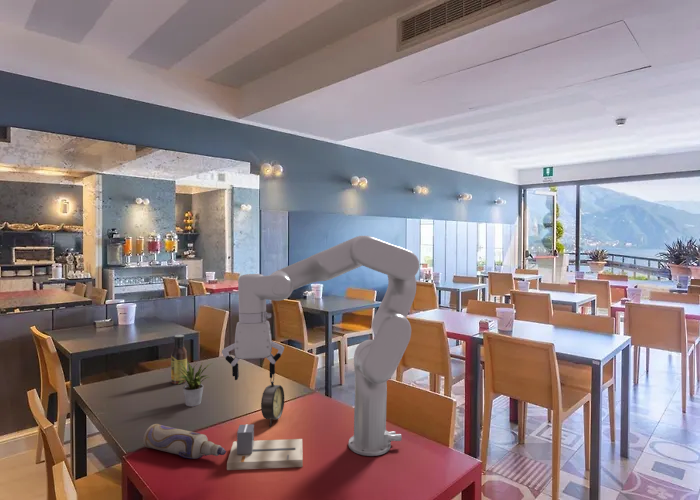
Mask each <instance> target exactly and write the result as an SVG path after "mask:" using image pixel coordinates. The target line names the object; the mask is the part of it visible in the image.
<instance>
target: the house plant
mask: <svg viewBox="0 0 700 500" xmlns="http://www.w3.org/2000/svg"><path fill="white" fill-rule="evenodd" d="M178 363H179V362H178ZM180 364H181V363H180ZM197 364H198V363H197ZM197 364H196V363H194V366H193V367H192V364H190V362H189V361H188V360H187V370H186V369H185V367H184V365H183V364H181V365H182V366H183V368H184V370H185V371H186V372H185V371H184V370H182V369H181V370H182V371H184V373H185V374H186V373H187V374H186V375H187V376H186V375H184V374H183V373H182V372H181V371H180V372H181V373H182V374H183V375H182V376H181V377H182V379H185V380H186V383H187V384H185V382H184V381H185V380H182V381H180V382H179V384H177V385H178V386H179V385H180V383H181V384H185V386H183V387H182V390H183V396H184V402H185V406H187V407H196V406H199V405H201V402H202V398H203V397H202V396H203V392H204V391H203V390H204V385H203V384H202V382H203V381H205V379H209V378H210V377H209V376H208V375H205V374H204V375H202V373H203V372H204V371H205V370H207V368H208V367H209V366H210V365H212V364H213V362H211V363H209V364H207V365H206V366H205V367H203V368H202V365H203V363H201V364H200V366H199V368H198V370H197V371H196V372H195V367H196V365H197ZM179 369H180V368H179ZM202 378H203V379H202ZM175 380H178V379H175ZM182 382H183V383H182Z"/></svg>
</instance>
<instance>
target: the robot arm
mask: <svg viewBox="0 0 700 500" xmlns="http://www.w3.org/2000/svg"><path fill="white" fill-rule="evenodd" d="M360 267H366V268H367V269H370V270H372V271H376V272H378V273H381V274H383V275H387V281H388V284H387V288H386V292H385V293H384V295H383V296H384V297H383V298H382V301H381V302H380V304H379V307H378V309H377V310H376V313H375V314H374V316H373V318H372V322H371V329H372V332H373V333H374V335H375V336H374V338H373V339H366V340H365V339H364V340H363V341H362V342H360V343H359V344H358V345H357V346H356V348H355V350H354V356H353V368H354V371H353V372H354V403H353V404H354V406H353V407H354V410H353V411H354V414H353V420H354V421H353V435H352V436H350V438H349V440H348V443H347V445H348V448H349V449H350V450H351V451H352V452H354V453H356V454H357V455H361V456H366V457H374V456H381V455H384V454H386V453H388V452H389V451H390V449H391V446H392V445H391V444H392V442H394V441H395V442H402V434H401V433H396V431H394V430H393V431H388V430H387V397H388V396H387V395H388V391H387V390H388V389H387V388H388V386H387V385H388V384H387V383H388V382H387V381H389V380H390V379H391V378H392V377H393V375H394V373H395V372H396V370H397V368H398V367H399V365H400V362H401V361H402V358H403V356H404V354H405V352H406V349H407V348H408V345H409V343H410V341H411V337H412V326H411V323H410V321H409V320H408V318H407V317H408V315H409V312H410V310H411V307H412V305H413V303H414V300H415V299H416V298H415V297H416V294H417V280H416V275H417V274H418V271H419V269H420V260H419V259H418V257H417V255H416V254H415V253H414V252H413V251H411V250H408V249H406V248H403V247H401V246H397V245H396V244H395V245H394V244H391V243H389V242H386V241H384V240H381V239H378V238H377V237H373V236H370V235H358V236H355V237H352V238H350V239H348V240H346V241H343V242H341V243H339V244H336V245H334V246H331V247H329V248H327V249H324V250H321V251H320V252H317V253H315V254H312V255H310V256H309V257H307V258H304V259H302V260H299V261H297V262H294V263H292V264H290V265H287V266H285V267H283V268H281V269H277V270H276V271H274V272H272V273H271V274H269V275H263V274H262V273H247V274H246V273H245V274H242V275H239V277H238V280H237V283H238V285H237V287H238V289H237V290H238V291H237V293H238V295H237V297H238V322H236V327H235V334H234V343H232V344H230V345H228V346H226V347H224V348H222V349H221V354H222V355H223V358H225V361H227V363H229V364H230V366H231V367H232V369H231V370H232V371H231V372H232V373H231V374H232V377H234V381H237V380H238V379H239V375H240V374H239V363H238V362H239V361H241V360H252V359H253V360H254V359H267V360H268V361H269V378H270V379H271V378H273V374H274V375H276V366H275V365H276V362H277V361H278V360H279V359H280V358H281V356H282V354H283V353H284V350H285V347H284V346H283V345H282V344H280V343H277V342H275V341H272V331H271V325H270V321H269V320H268V319H271V318H272V313H271V312H267V300H269V301H278V302H279V301H284V300H286V299H288V298H289V297H291V295H292V293H293V291H294V290H298V289H299V288H301V287H304V286H307V285H310V284H312V283H313V284H314V283H316V282H327V281H329V280H330V281H331V280H333V279H334V278H337V277H339V276H342V275H343V274H346V273H348V272H352V271H354V270H356V269H358V268H360ZM273 348H274V349H276V350H277V353H276V354H275V355H273V353H272V352H273ZM233 350H234V357H232V355H230V353H229V352H230V351H233Z"/></svg>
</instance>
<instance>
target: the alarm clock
mask: <svg viewBox="0 0 700 500" xmlns="http://www.w3.org/2000/svg"><path fill="white" fill-rule="evenodd" d="M272 378H273V379H272ZM272 378H270V380H271V381H270V384H269V385H267V386H266V387H265V388H264V390H263V393H262V395H261V401H260V410H261V414H262V416H263V418H264V419H265V420H269V425H268V426H269V428H271V427H272V423H273V420H275V421H277V420H279V419H280V418H281V416H282V414H283V411H284V408H285V391H284V388H283V386H282V385H280V384H279V385H278V384H274V383H275V374H273V376H272Z"/></svg>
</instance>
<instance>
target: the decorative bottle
mask: <svg viewBox="0 0 700 500" xmlns="http://www.w3.org/2000/svg"><path fill="white" fill-rule="evenodd" d="M143 434H144V435H143V437H142V443H143V444H142V445H143V446H144V447H146V448H148V449H152V450H157V451H162V452H167V453H169V454H175V455H178V456H179V457H181V458H184V459H185V458H186V459H190V460H193V459H195V460H196V459H200V458H202V457H205V456H206V457H207V456H215V457H218V456H224V455H225V454H227V453H226V452H227V450H226V449H225V448H224V447H222V445H220V444H216V443H214V442H212V441H210V440H209V439H208V437H207V435H206V434H204V433H199V432H195V431H191V430H186V429H182V428H175V427H172V426H166V425H162V424H159V423H154V424H151V425H149V427H148V428H147V429H146V430H145V432H144V433H143Z"/></svg>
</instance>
